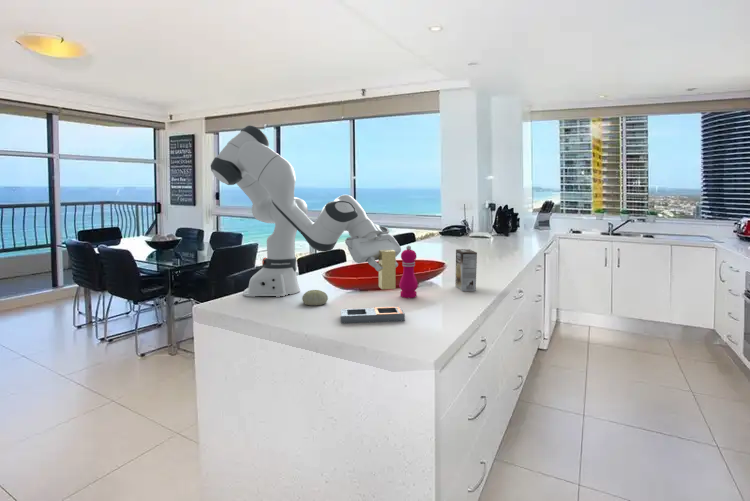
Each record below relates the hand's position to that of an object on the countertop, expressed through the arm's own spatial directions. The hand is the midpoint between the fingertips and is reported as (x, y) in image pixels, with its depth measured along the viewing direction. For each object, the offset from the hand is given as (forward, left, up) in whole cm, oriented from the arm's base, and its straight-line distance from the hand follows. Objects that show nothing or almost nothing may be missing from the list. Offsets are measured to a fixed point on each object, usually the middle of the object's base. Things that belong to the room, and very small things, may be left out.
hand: (388, 268), depth 138 cm
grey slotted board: (-5, +1, -17) cm, 17 cm away
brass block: (0, 0, -6) cm, 6 cm away
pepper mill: (+12, +29, -17) cm, 35 cm away
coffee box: (+38, +39, -17) cm, 57 cm away
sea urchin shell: (-24, +23, -17) cm, 37 cm away
